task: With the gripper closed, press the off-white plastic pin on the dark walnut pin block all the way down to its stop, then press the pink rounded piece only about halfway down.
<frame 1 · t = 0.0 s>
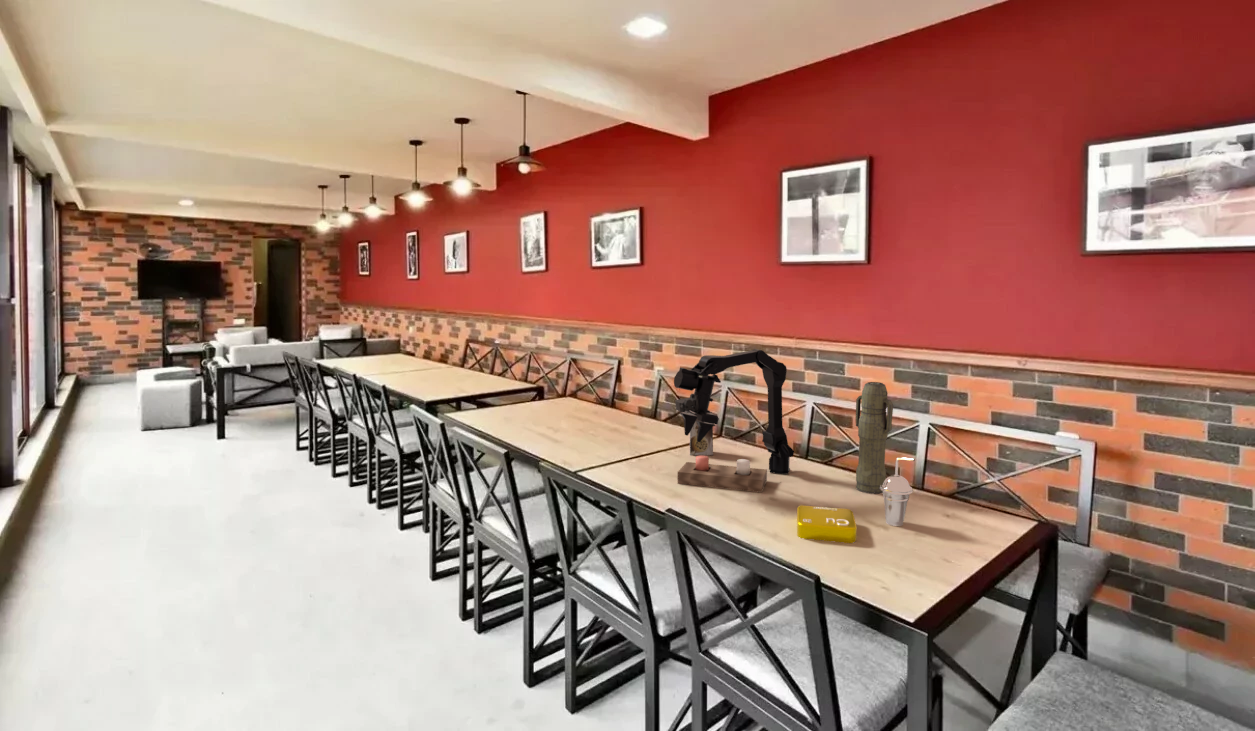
hand: (692, 438, 211), 15 cm above the table, tool pointing down, fingers open, 9 cm apart
pink rounded piece: (702, 463, 215), point 6 cm above the table, slide at 0.0 cm
cup with straw: (894, 524, 177), on the table
thermos: (870, 489, 205), on the table
coffee box: (701, 453, 249), on the table
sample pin: (743, 467, 211), point 6 cm above the table, slide at 0.0 cm
element tile: (825, 532, 173), on the table
pin block: (722, 482, 214), on the table
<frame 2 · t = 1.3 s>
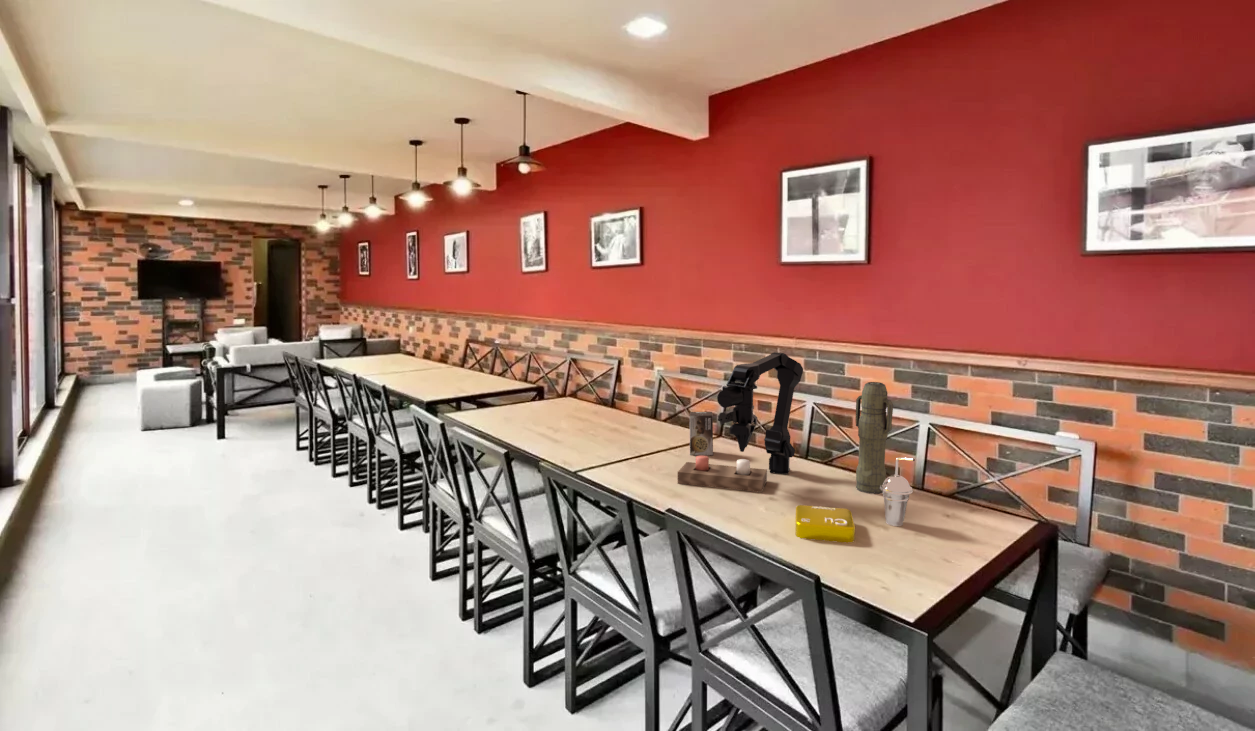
hand: (743, 449, 210), 12 cm above the table, tool pointing down, fingers open, 5 cm apart
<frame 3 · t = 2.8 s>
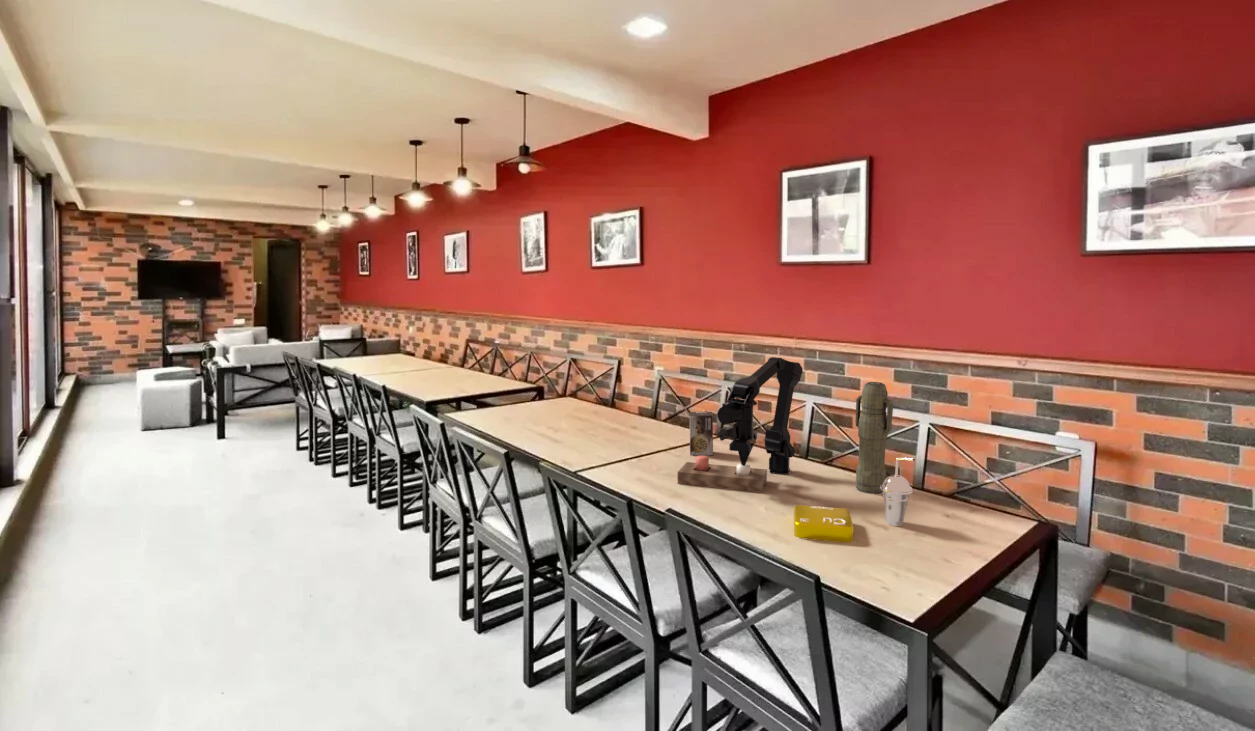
hand: (743, 465, 211), 7 cm above the table, tool pointing down, fingers closed, pressing on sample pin
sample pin: (743, 471, 211), point 4 cm above the table, slide at 1.5 cm, touching gripper
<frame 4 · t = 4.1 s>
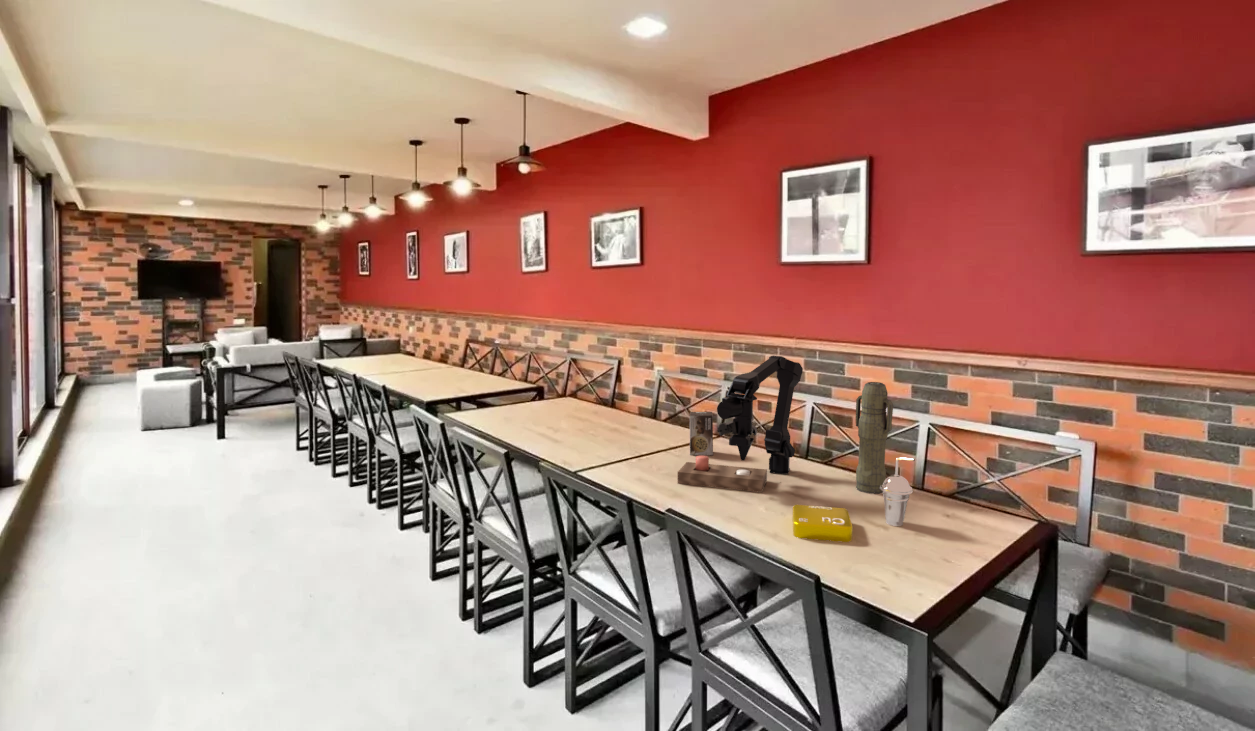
hand: (742, 460, 210), 8 cm above the table, tool pointing down, fingers closed
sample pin: (743, 477, 211), point 2 cm above the table, slide at 3.6 cm
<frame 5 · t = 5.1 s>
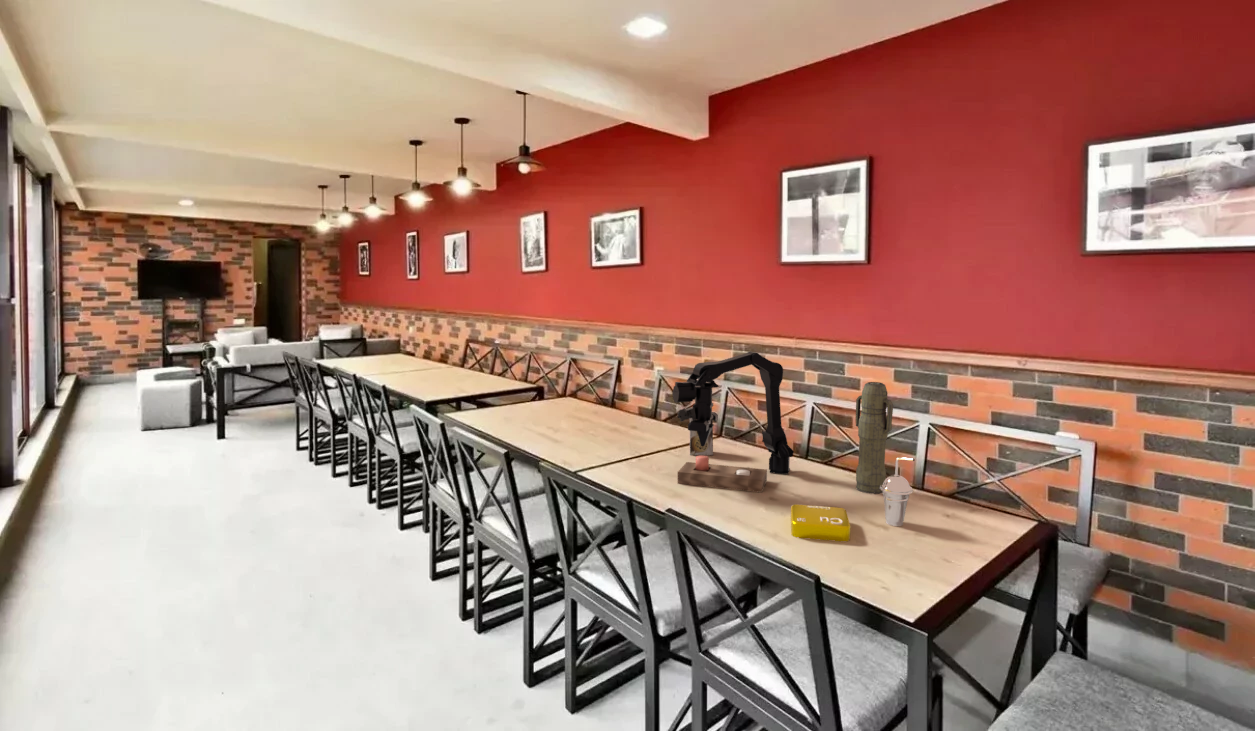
hand: (702, 445, 214), 12 cm above the table, tool pointing down, fingers closed
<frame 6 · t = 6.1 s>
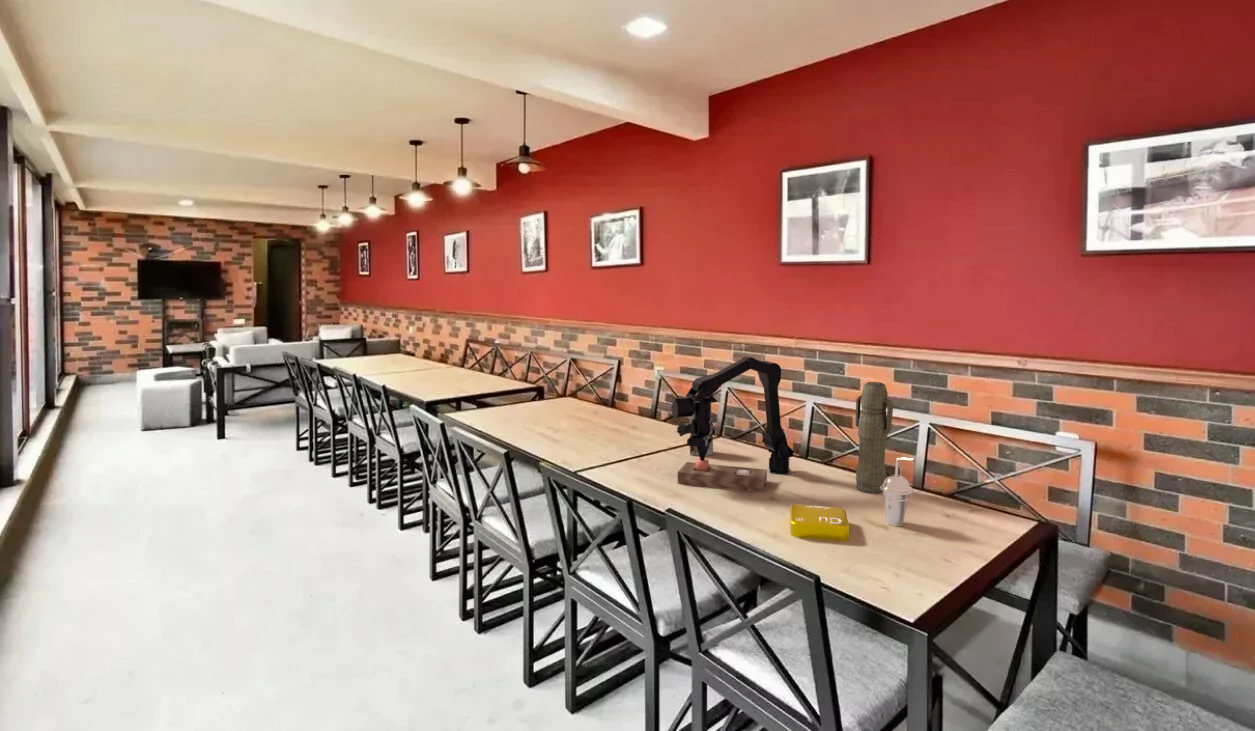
hand: (702, 460, 215), 7 cm above the table, tool pointing down, fingers closed, pressing on pink rounded piece
pink rounded piece: (702, 466, 216), point 5 cm above the table, slide at 1.1 cm, touching gripper
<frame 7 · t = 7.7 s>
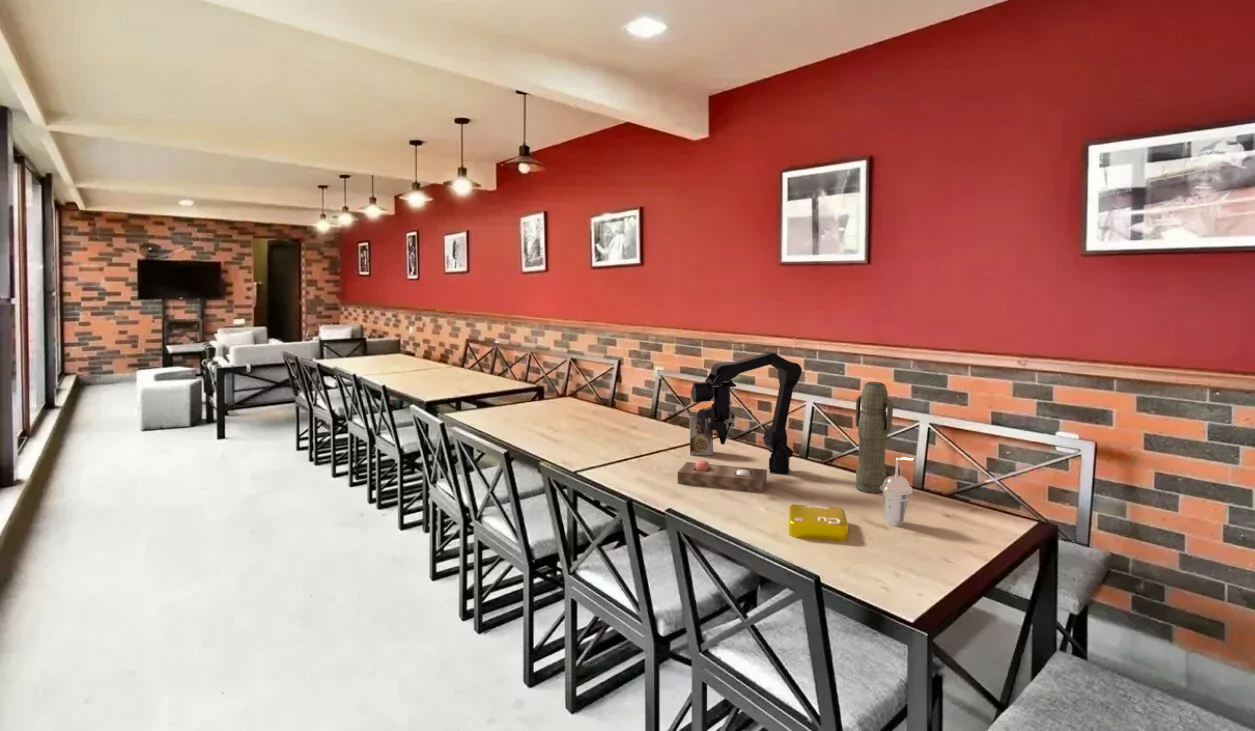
hand: (722, 444, 219), 11 cm above the table, tool pointing down, fingers closed
pink rounded piece: (702, 468, 216), point 4 cm above the table, slide at 1.8 cm
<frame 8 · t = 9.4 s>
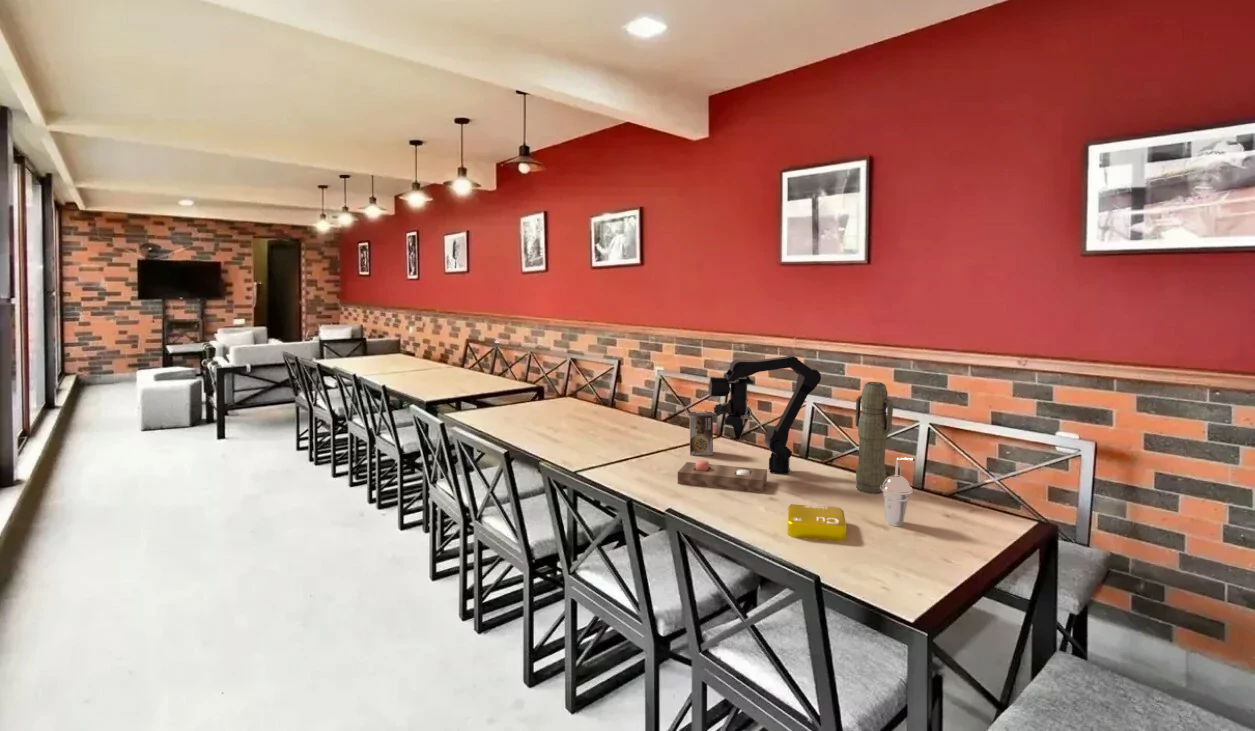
hand: (738, 439, 222), 12 cm above the table, tool pointing down, fingers closed
at the end: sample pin slide at 3.6 cm; pink rounded piece slide at 1.8 cm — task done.
